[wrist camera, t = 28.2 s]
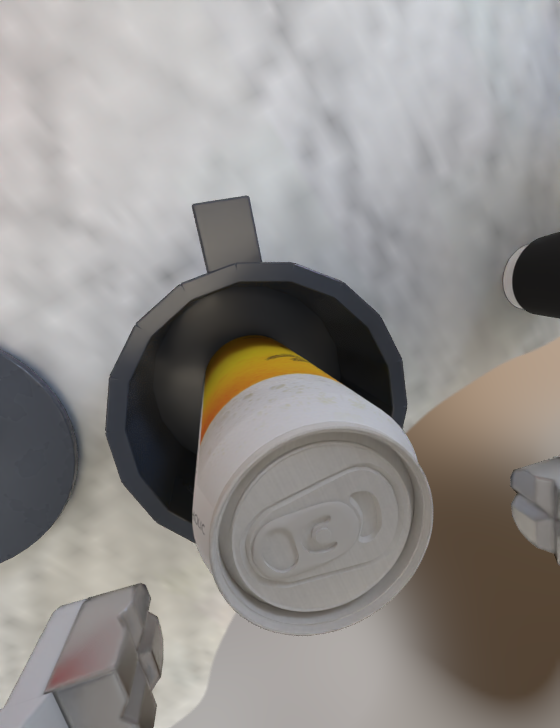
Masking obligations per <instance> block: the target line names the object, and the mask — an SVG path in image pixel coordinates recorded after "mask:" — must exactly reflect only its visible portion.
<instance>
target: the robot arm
mask: <svg viewBox="0 0 560 728" xmlns="http://www.w3.org/2000/svg"><path fill="white" fill-rule="evenodd" d="M511 487H512V489H513V490H514V491H515V492H516V493H517V494H516V496H515V498H514V500H513V502H512V504H511V507H512V517H513V519H514V521H515V523H516V525H517V527H518V529H519V531H520V532H521V533H522V534H523V535H524V536H525V538H526V539H527V540H529V541H530V542H531V543H532V544H533V545H535V546H536V547H537V548H540V549H543V550H545V551H548V552H551V553H554V555H555V558H556V560H557V563H558V564H559V565H560V455H558V456H555V457H553V458H551V459H548V460H544V461H541V462H538V463H535V464H531V465H528V466H525V467H522V468H518V469H515V470H513V472H512V475H511ZM150 600H151V598H150V595H149V592H148V590H147V587H146V585H144V584H142V583H139V584H136V585H132V586H129V587H125V588H121V589H118V590H114V591H111V592H107V593H103V594H100V595H96V596H93V597H89V598H88V599H84V600H80V601H77V602H73V603H70V604H66V605H62V606H60V607H59V608H58V609H57V610H55V611H54V612H53V614H52V615H51V617H50V619H49V621H48V623H47V625H46V627H45V629H44V631H43V633H42V635H41V637H40V638H39V640H38V642H37V644H36V646H35V648H34V650H33V652H32V654H31V656H30V658H29V660H28V662H27V664H26V665H25V667H24V669H23V671H22V673H21V675H20V677H19V679H18V681H17V683H16V685H15V687H14V689H13V691H12V693H11V694H10V696H9V698H8V700H7V702H6V704H5V706H4V708H3V709H0V728H153V727H154V720H155V714H156V707H157V705H156V702H155V699H154V697H153V694H152V690H153V688H154V687H155V685H156V683H157V682H158V680H159V679H160V677H161V672H162V664H163V638H162V632H161V627H160V624H159V620H158V617H157V616H155V615H154V614H152V613H150V612H148V610H149V605H150Z"/></svg>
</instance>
